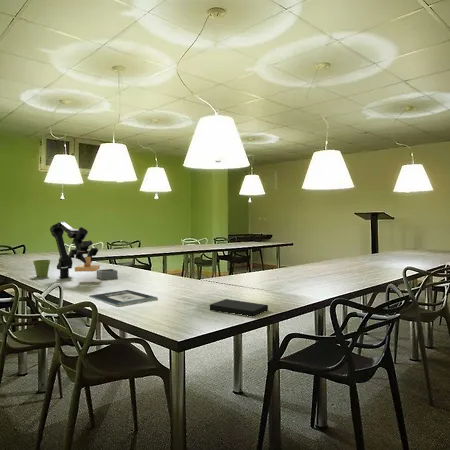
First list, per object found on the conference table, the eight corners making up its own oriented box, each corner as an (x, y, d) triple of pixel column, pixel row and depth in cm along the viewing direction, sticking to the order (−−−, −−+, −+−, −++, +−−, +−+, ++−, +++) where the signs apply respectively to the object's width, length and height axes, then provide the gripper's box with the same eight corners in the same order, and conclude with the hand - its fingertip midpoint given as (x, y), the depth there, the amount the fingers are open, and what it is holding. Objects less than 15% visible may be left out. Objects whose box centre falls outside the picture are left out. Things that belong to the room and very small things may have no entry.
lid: (80, 268, 260) (80, 256, 260) (99, 268, 261) (99, 255, 261) (74, 271, 247) (74, 258, 247) (94, 271, 248) (94, 258, 248)
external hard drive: (253, 318, 169) (253, 311, 169) (209, 310, 181) (209, 304, 181) (268, 311, 181) (268, 304, 180) (226, 304, 193) (226, 298, 193)
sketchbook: (127, 292, 227) (127, 288, 227) (158, 301, 204) (158, 296, 204) (89, 297, 211) (89, 293, 211) (118, 308, 188) (118, 303, 188)
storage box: (96, 278, 270) (96, 270, 270) (112, 277, 276) (112, 268, 276) (101, 280, 261) (101, 272, 261) (117, 279, 267) (117, 270, 267)
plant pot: (30, 276, 281) (29, 260, 280) (46, 274, 289) (46, 259, 289) (37, 278, 273) (36, 262, 272) (53, 276, 282) (53, 260, 281)
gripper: (70, 237, 249) (79, 255, 242) (96, 235, 263) (106, 253, 256) (64, 248, 254) (73, 267, 248) (90, 246, 269) (99, 264, 262)
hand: (88, 262), depth 253 cm, fingers closed on lid, 4 cm apart
